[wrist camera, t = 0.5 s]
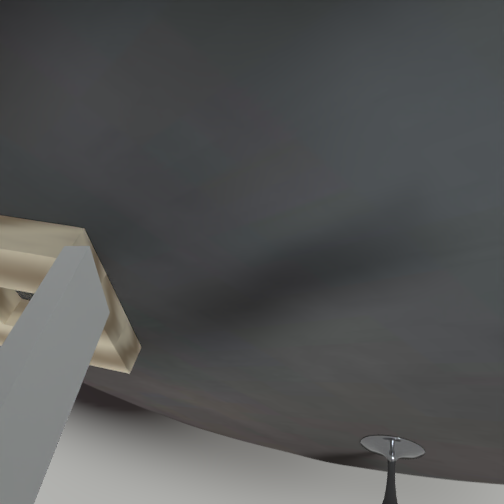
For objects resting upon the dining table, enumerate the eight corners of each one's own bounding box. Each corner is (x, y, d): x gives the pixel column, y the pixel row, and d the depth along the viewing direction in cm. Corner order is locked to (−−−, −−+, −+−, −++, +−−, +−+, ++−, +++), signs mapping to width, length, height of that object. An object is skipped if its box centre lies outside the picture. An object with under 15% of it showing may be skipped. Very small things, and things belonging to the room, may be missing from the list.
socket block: (-98, 200, 35) (-127, 226, 33) (84, 228, 32) (63, 259, 30) (8, 320, 48) (-9, 343, 46) (141, 347, 45) (129, 373, 44)
